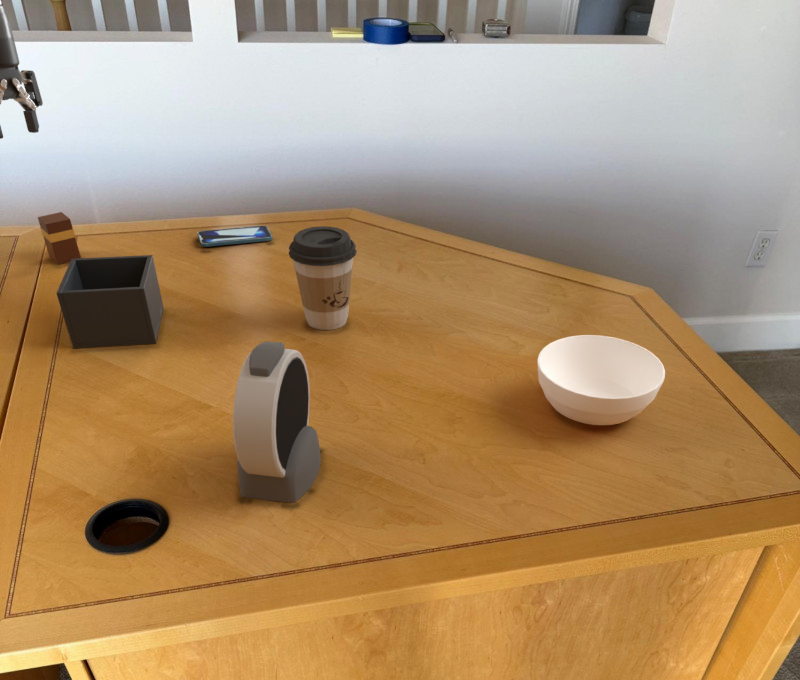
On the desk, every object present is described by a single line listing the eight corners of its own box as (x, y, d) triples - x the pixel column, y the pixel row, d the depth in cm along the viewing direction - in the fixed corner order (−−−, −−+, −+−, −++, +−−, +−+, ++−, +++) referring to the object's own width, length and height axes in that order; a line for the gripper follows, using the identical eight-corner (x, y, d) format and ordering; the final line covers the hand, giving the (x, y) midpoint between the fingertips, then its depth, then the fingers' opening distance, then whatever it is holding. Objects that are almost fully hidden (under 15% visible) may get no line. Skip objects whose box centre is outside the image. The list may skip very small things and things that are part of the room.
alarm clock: (301, 513, 98) (288, 389, 86) (224, 504, 99) (201, 380, 87) (332, 441, 110) (324, 322, 98) (263, 433, 111) (247, 315, 99)
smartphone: (273, 237, 163) (201, 244, 160) (273, 241, 164) (202, 248, 160) (266, 224, 169) (196, 231, 165) (266, 229, 169) (197, 235, 165)
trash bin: (73, 348, 129) (56, 293, 123) (86, 311, 139) (71, 258, 133) (156, 343, 131) (143, 288, 124) (163, 307, 141) (152, 254, 134)
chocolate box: (57, 264, 154) (45, 224, 149) (49, 256, 157) (37, 217, 152) (81, 258, 157) (70, 218, 151) (72, 251, 159) (61, 211, 154)
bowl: (509, 390, 120) (514, 348, 115) (607, 367, 126) (616, 326, 121) (573, 454, 108) (582, 410, 103) (679, 425, 113) (692, 382, 108)
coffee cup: (320, 342, 131) (314, 256, 121) (282, 319, 137) (273, 235, 127) (372, 322, 137) (370, 237, 127) (332, 300, 143) (328, 218, 133)
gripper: (7, 34, 147) (31, 129, 156) (-58, 37, 136) (-29, 139, 145) (36, 34, 144) (58, 131, 153) (-29, 37, 133) (-1, 141, 143)
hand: (16, 135), depth 149 cm, fingers open, 8 cm apart
